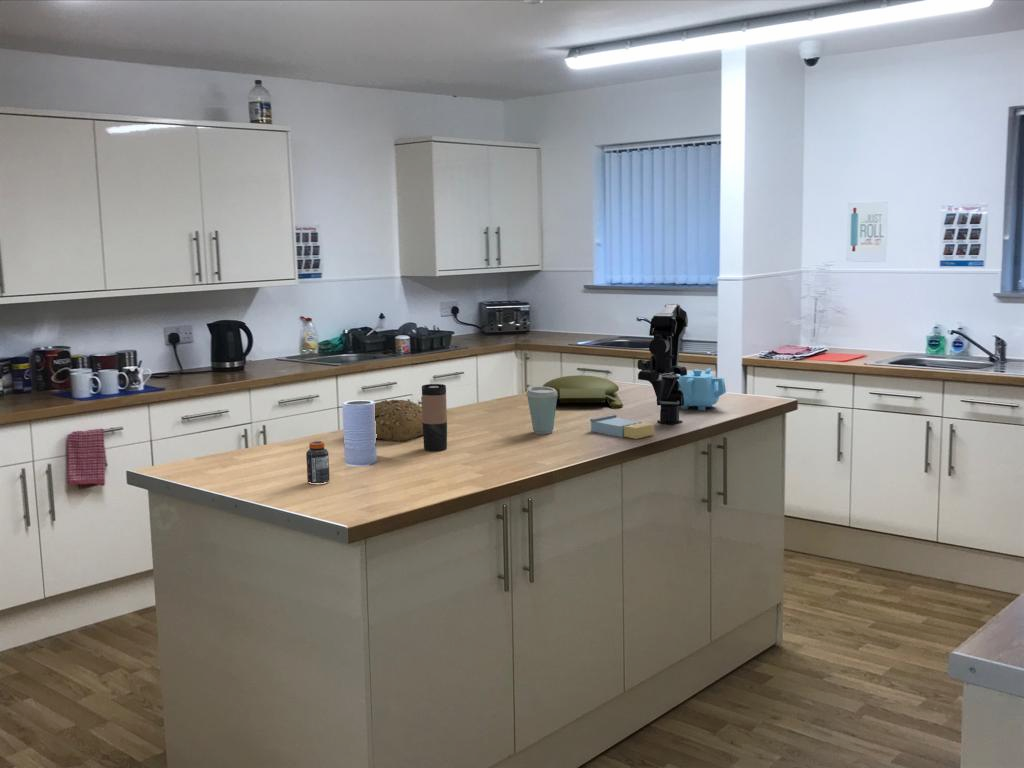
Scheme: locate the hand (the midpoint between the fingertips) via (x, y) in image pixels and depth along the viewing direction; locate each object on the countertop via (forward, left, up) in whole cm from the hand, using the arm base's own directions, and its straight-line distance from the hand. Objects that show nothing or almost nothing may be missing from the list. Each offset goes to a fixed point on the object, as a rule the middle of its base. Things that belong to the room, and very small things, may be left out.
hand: (662, 398), depth 332 cm
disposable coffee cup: (+30, -27, -11) cm, 42 cm away
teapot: (-44, -20, -11) cm, 50 cm away
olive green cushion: (-22, -61, -12) cm, 66 cm away
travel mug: (+71, -32, -11) cm, 78 cm away
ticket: (+12, -10, -11) cm, 19 cm away
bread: (+68, -59, -11) cm, 91 cm away
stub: (+12, 0, -11) cm, 16 cm away
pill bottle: (+119, -21, -11) cm, 121 cm away
